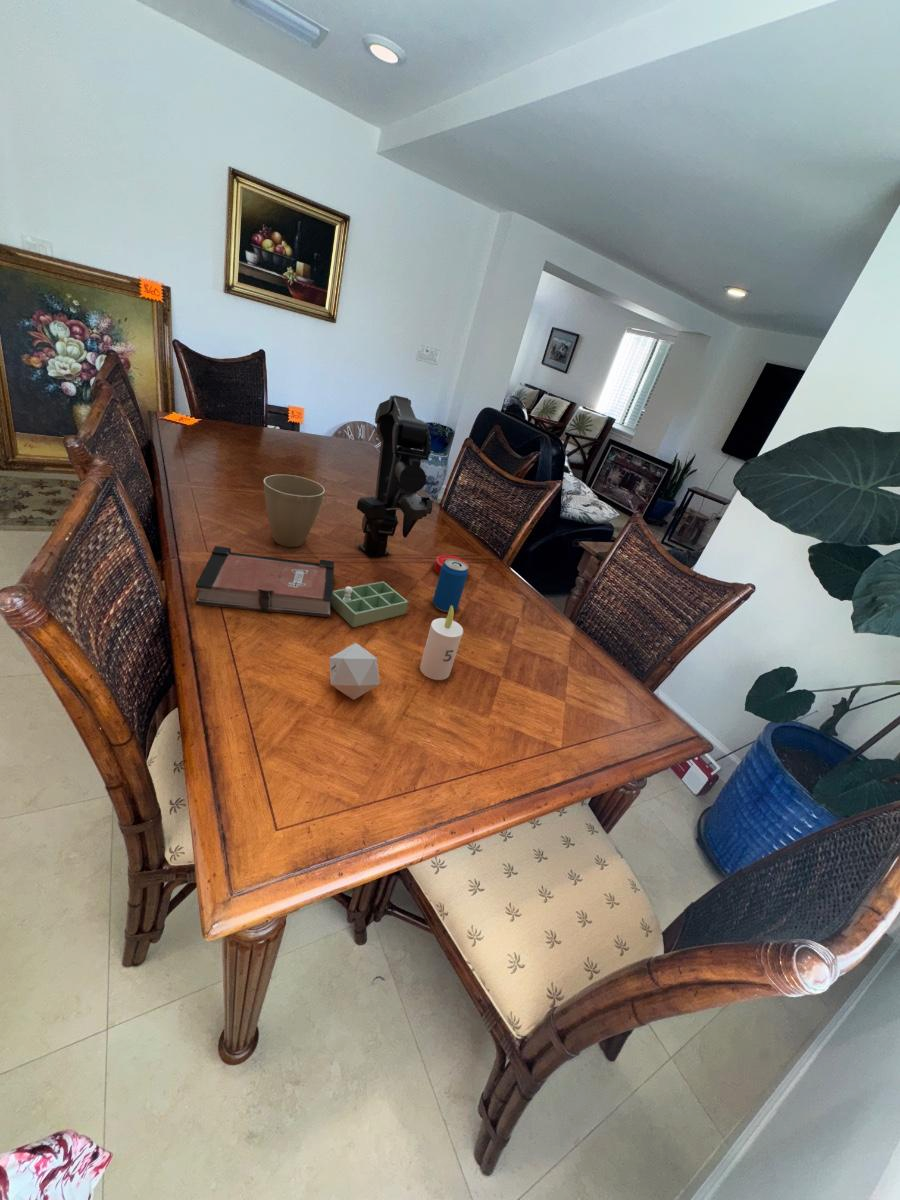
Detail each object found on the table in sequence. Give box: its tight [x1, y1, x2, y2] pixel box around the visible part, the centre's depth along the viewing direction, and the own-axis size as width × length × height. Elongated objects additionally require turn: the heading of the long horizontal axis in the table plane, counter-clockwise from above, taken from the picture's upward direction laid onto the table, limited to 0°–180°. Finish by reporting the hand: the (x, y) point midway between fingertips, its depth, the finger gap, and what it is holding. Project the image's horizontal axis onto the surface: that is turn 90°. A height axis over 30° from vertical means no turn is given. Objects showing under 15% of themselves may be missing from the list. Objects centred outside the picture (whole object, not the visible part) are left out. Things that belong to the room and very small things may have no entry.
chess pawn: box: [343, 585, 352, 602], centre depth 107 cm, size 3×3×5 cm
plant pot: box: [263, 473, 326, 548], centre depth 126 cm, size 15×15×16 cm
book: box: [195, 545, 335, 618], centre depth 106 cm, size 26×18×5 cm
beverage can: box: [432, 559, 469, 613], centre depth 117 cm, size 6×6×12 cm
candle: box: [419, 605, 464, 681], centre depth 94 cm, size 6×6×15 cm
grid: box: [331, 580, 409, 628], centre depth 110 cm, size 10×15×3 cm
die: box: [328, 642, 381, 701], centre depth 85 cm, size 8×9×10 cm
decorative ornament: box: [433, 554, 470, 576], centre depth 138 cm, size 10×10×3 cm
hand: (389, 538), depth 118 cm, fingers open, 9 cm apart
